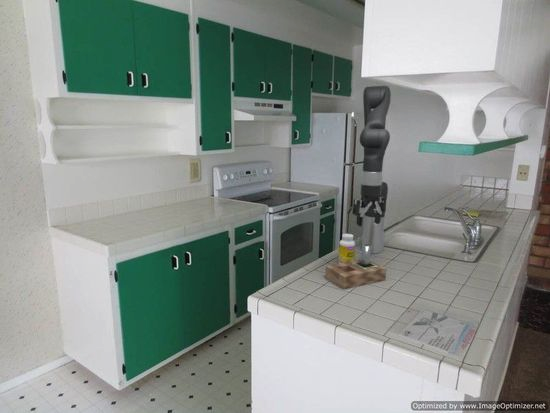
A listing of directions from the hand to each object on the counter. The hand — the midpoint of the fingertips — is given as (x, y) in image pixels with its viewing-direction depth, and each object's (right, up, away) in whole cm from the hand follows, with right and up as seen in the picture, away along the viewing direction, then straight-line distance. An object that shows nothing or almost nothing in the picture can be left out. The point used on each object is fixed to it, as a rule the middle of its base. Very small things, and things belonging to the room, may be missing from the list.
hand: (368, 224), depth 152 cm
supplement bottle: (-5, -18, +19) cm, 27 cm away
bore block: (-4, -21, +3) cm, 22 cm away
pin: (0, -20, +5) cm, 20 cm away
